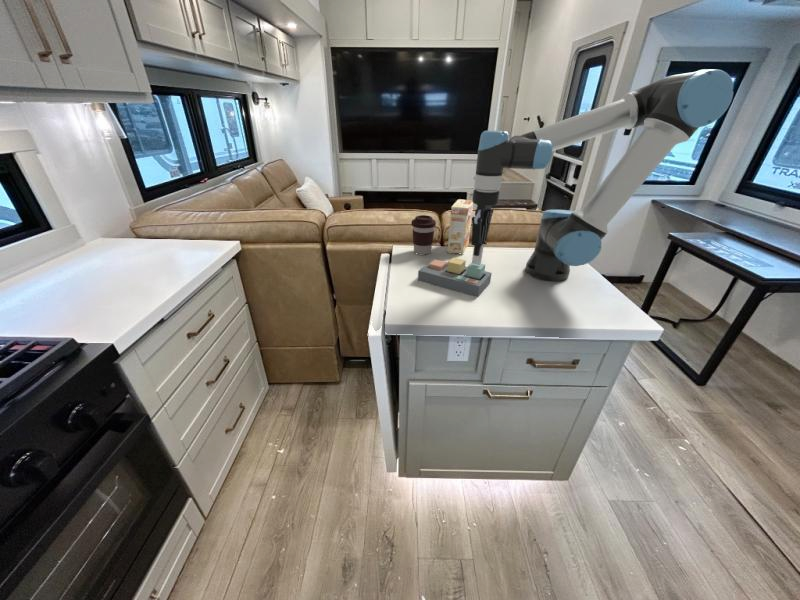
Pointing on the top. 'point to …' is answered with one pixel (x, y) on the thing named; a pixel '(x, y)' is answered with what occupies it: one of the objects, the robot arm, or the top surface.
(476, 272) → the key
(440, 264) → the key
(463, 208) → the coffeecake box
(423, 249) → the coffee cup
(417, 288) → the top surface
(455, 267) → the key mid
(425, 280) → the keypad board
